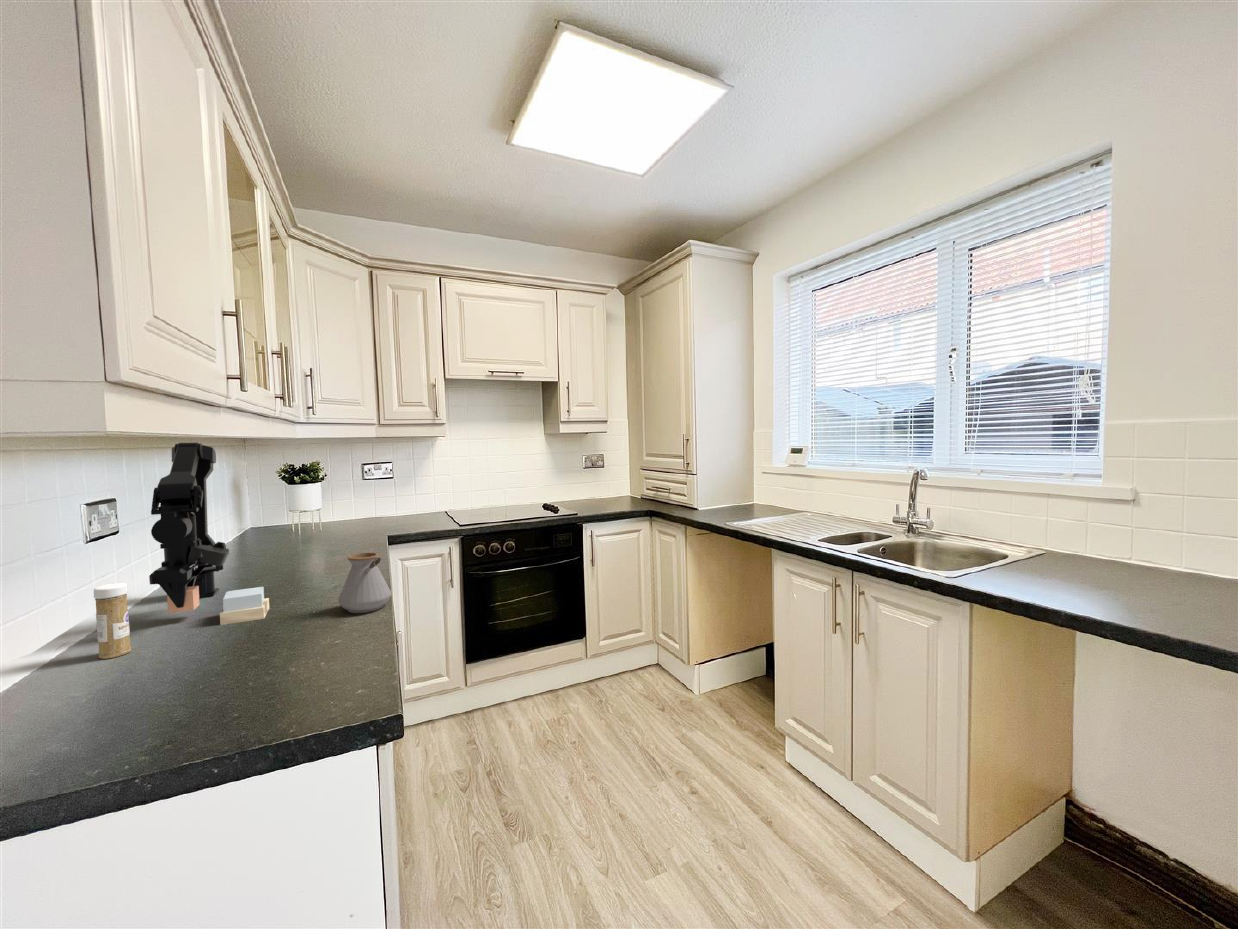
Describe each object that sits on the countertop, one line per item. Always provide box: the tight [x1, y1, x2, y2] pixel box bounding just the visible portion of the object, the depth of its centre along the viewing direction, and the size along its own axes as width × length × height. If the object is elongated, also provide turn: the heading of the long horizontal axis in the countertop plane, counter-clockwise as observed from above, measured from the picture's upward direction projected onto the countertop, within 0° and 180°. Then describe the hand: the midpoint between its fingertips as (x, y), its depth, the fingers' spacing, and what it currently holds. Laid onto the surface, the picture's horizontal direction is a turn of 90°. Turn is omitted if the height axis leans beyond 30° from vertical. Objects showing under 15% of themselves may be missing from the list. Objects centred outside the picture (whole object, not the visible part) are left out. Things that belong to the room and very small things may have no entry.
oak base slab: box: [219, 597, 270, 626], centre depth 117 cm, size 8×8×3 cm
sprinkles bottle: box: [93, 582, 132, 660], centre depth 96 cm, size 5×5×13 cm
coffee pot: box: [338, 552, 392, 614], centre depth 118 cm, size 21×12×15 cm, turn 39°
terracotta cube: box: [166, 586, 201, 614], centre depth 115 cm, size 4×4×4 cm
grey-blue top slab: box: [222, 586, 265, 612], centre depth 117 cm, size 7×7×3 cm
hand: (183, 604), depth 115 cm, fingers closed on terracotta cube, 4 cm apart
